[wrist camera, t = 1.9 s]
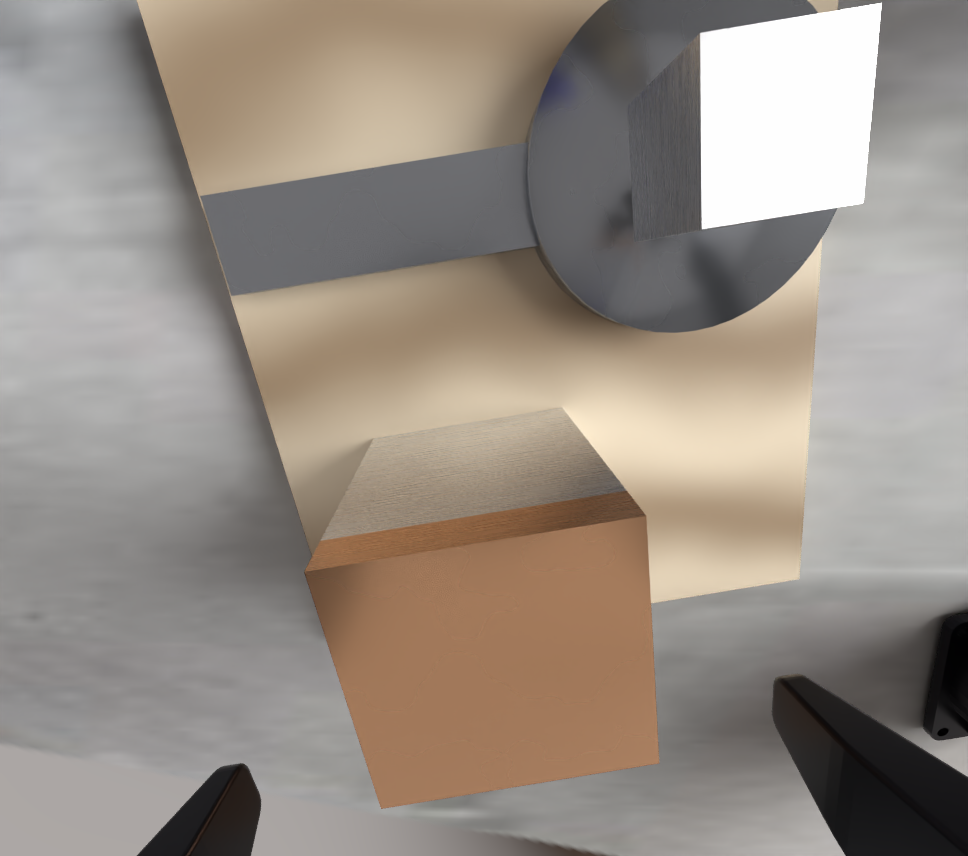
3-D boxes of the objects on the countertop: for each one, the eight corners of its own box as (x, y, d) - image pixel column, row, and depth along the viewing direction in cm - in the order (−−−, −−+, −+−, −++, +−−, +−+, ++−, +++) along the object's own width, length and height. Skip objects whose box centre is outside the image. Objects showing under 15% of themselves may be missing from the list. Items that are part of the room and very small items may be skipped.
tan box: (579, 568, 17) (659, 763, 10) (412, 595, 17) (381, 808, 10) (561, 407, 15) (646, 515, 8) (373, 438, 15) (303, 571, 8)
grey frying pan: (801, 303, 14) (975, 318, 9) (276, 389, 14) (184, 447, 9) (820, -26, 12) (1069, -234, 7) (182, 79, 12) (-9, -57, 7)
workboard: (781, 563, 18) (799, 579, 17) (348, 633, 18) (342, 653, 17) (816, -103, 12) (846, -136, 11) (156, 5, 12) (131, -18, 11)
